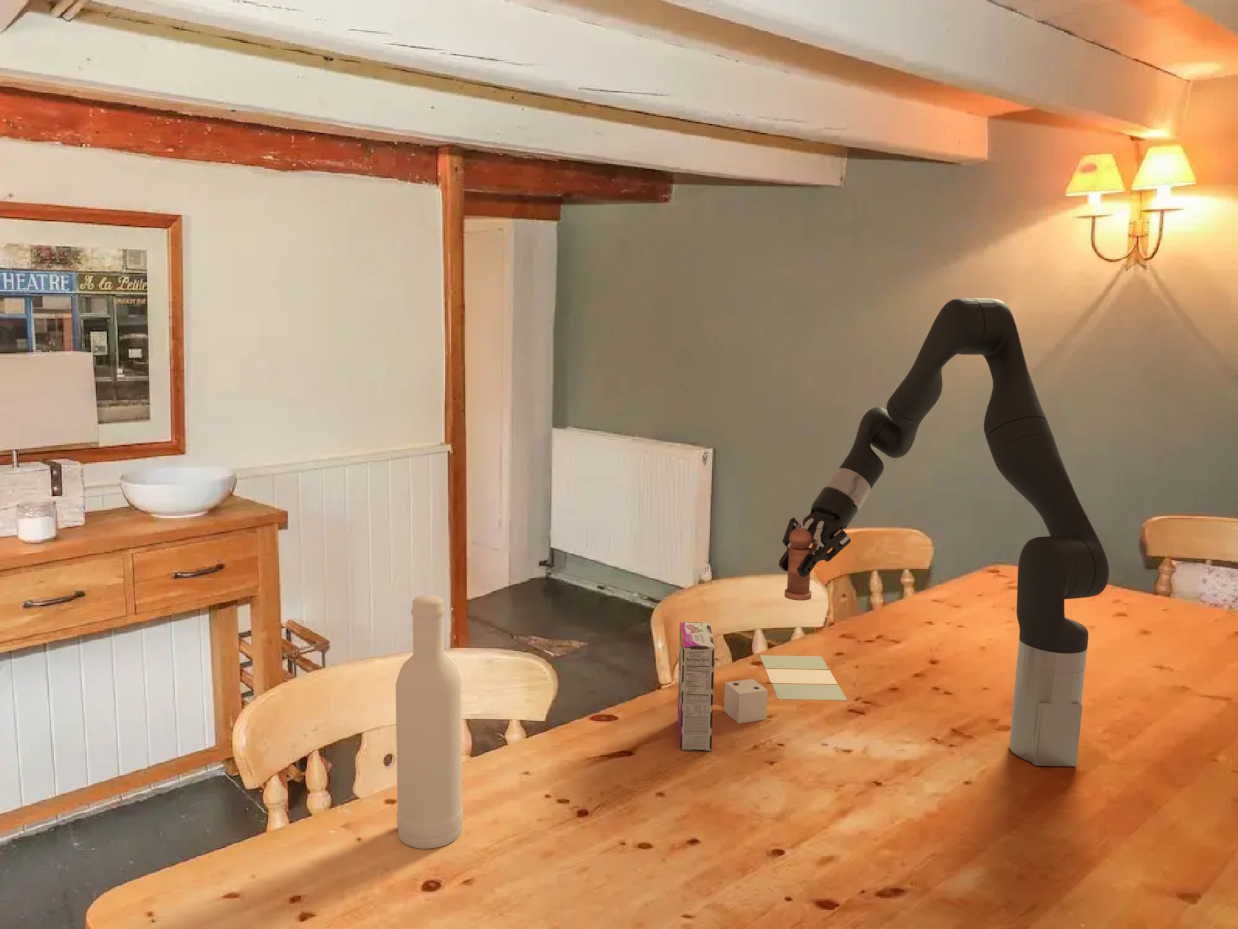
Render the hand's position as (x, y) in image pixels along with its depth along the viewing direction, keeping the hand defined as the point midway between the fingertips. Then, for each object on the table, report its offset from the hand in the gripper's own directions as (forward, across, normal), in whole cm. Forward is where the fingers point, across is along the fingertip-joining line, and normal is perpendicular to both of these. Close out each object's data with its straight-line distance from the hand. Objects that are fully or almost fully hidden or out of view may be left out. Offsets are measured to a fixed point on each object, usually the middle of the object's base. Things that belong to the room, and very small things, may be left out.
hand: (791, 571), depth 176 cm
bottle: (+68, +16, -42) cm, 82 cm away
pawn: (+2, 0, +5) cm, 5 cm away
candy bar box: (+36, +13, -10) cm, 40 cm away
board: (+14, +5, +12) cm, 19 cm away
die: (+28, +11, -2) cm, 30 cm away
